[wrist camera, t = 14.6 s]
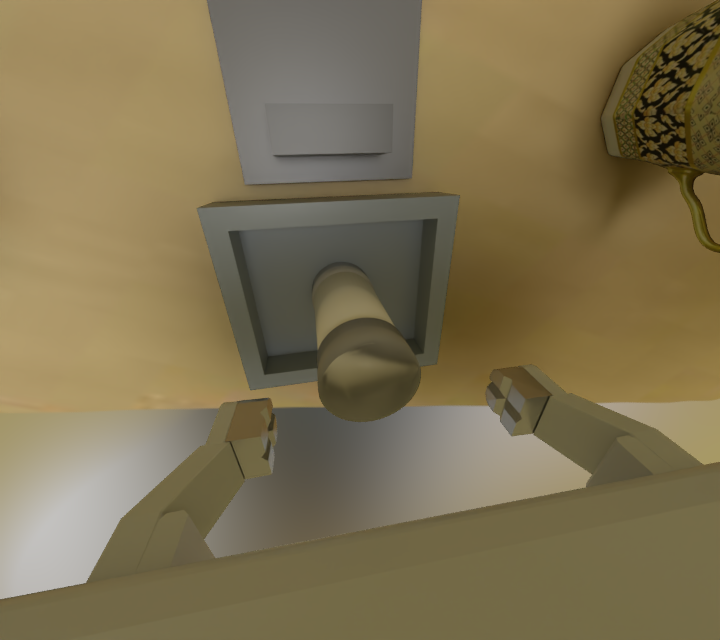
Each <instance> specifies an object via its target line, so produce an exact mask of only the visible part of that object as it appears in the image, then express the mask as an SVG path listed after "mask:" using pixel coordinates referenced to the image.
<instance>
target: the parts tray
mask: <svg viewBox="0 0 720 640" xmlns="http://www.w3.org/2000/svg"><path fill="white" fill-rule="evenodd" d="M459 198H460V195H454V194H447V193H441V192H427V193H405V194H383V195H361V196H339V197H317V198H295V199H273V200H251V201H229V202H213V203H210V204H207V205H204V206H201V207H198V208H197V211H198V214H199V218H200V221H201V224H202V228H203V231H204V235H205V238H206V241H207V245H208V248H209V252H210V255H211V258H212V262H213V265H214V269H215V272H216V275H217V279H218V282H219V286H220V289H221V292H222V296H223V299H224V303H225V306H226V309H227V313H228V316H229V320H230V323H231V326H232V330H233V333H234V337H235V340H236V343H237V347H238V350H239V354H240V357H241V360H242V364H243V367H244V371H245V374H246V377H247V381H248V384H249V388H250V390H256V389H264V388H271V387H278V386H285V385H292V384H299V383H306V382H313V381H318V378H317V362H316V358H317V352H318V347H317V334H316V321H315V311H314V308H313V303H312V284H313V281H314V279H315V277H316V275H317V274H318V272H319V271H320V270H321V269H323V268H324V267H326V266H327V265H329V264H332V263H336V262H348V263H352V264H354V265H356V266H358V267H359V268H361V269H362V270H363V271H364V272H365V274H366V275H367V277H368V278H369V280H370V282H371V283H372V285H373V287H374V290H375V293H376V295H377V297H378V298H379V300H380V302H381V304H382V305H383V307H384V309H385V310H386V312H387V314H388V316H389V317H390V319H391V321H392V322H393V324H394V326H395V327H396V328H397V329H398V330H399V331H400V332H401V334H402V335H403V337H404V338H405V340H406V342H407V343H408V345H409V347H410V348H411V350H412V352H413V353H414V355H415V357H416V358H417V360H418V362H419V365H420V366H428V365H435V364H437V360H438V353H439V346H440V338H441V331H442V323H443V316H444V309H445V301H446V294H447V286H448V279H449V272H450V264H451V257H452V250H453V242H454V235H455V227H456V220H457V213H458V205H459Z"/></svg>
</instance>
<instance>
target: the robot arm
mask: <svg viewBox="0 0 720 640" xmlns="http://www.w3.org/2000/svg"><path fill="white" fill-rule="evenodd" d="M490 379H491V381H492V382H491V383H490V384H489V385H488V386H487V389H486V400H487V403H488V405H489V407H490V408H491V409H492V411H493V412H495V413H496V414H498V415H500V422H501V423H502V424H503V426H504V427H505V428H506V430H507V431H508V432H509V434H510V435H511V436H517V435H524V434H532V433H534V435H535V436H537V437H538V438H539V439H541V440H542V441H544V442H545V443H547V444H548V445H550V446H551V447H553V448H554V449H555V450H557V451H559V452H560V453H561V454H563V455H564V456H566V457H567V458H569V459H570V460H572V461H573V462H575V463H576V464H578V465H579V466H581V467H582V468H584V469H585V470H587V471H588V472H589V473H591V474H592V476H591V477H590V479H589V480H588V482H587V484H586V488H582V489H576V490H571V491H565V492H560V493H555V494H550V495H544V496H539V497H534V498H529V499H523V500H518V501H513V502H507V503H502V504H497V505H492V506H486V507H481V508H476V509H471V510H466V511H460V512H455V513H450V514H445V515H440V516H434V517H430V518H424V519H419V520H414V521H409V522H403V523H398V524H393V525H387V526H382V527H377V528H372V529H366V530H362V531H356V532H351V533H346V534H341V535H335V536H330V537H325V538H320V539H314V540H309V541H304V542H299V543H293V544H288V545H283V546H278V547H273V548H268V549H262V550H257V551H252V552H247V553H241V554H236V555H231V556H226V557H220V558H215V557H214V555H213V554H212V552H211V550H210V549H209V547H208V546H207V544H206V542H205V541H204V539H205V537H206V536H207V534H208V533H209V531H210V530H211V529H212V527H213V526H214V524H215V523H216V522H217V520H218V519H219V517H220V516H221V514H222V513H223V512H224V510H225V509H226V507H227V506H228V504H229V503H230V502H231V500H232V499H233V497H234V496H235V494H236V493H237V491H238V490H239V489H240V487H241V486H242V484H243V483H244V479H249V478H255V477H260V476H265V475H271V474H272V471H273V463H274V456H275V455H274V451H273V446H274V445H275V444H276V439H277V422H276V418H275V415H274V414H273V413H272V408H273V405H272V401H271V399H270V398H262V399H252V400H243V401H237V402H226V403H223V404H222V405H221V406H220V408H219V411H218V414H217V416H216V419H215V422H214V424H213V426H212V429H211V432H210V434H209V437H208V440H207V442H206V445H204V446H200V447H199V448H198V449H197V450H196V451H194V452H193V453H192V454H191V455H190V456H189V457H188V458H187V459H186V460H185V461H183V462H182V463H181V464H180V465H179V466H178V467H177V468H176V469H175V470H174V471H173V472H171V473H170V474H169V475H168V476H167V477H166V478H165V479H164V480H163V481H162V482H161V483H160V484H158V485H157V486H156V487H155V488H154V489H153V490H152V491H151V492H150V493H149V494H148V495H146V497H144V498H143V499H142V500H141V501H140V502H139V503H138V504H137V505H136V506H135V507H133V508H132V509H131V510H130V511H129V512H128V513H127V514H126V515H125V516H124V517H122V518H121V520H120V522H119V524H118V525H117V527H116V529H115V531H114V533H113V534H112V537H111V538H110V540H109V542H108V544H107V545H106V547H105V549H104V551H103V553H102V555H101V557H100V558H99V560H98V562H97V564H96V566H95V567H94V570H93V571H92V573H91V575H90V577H89V578H88V580H87V582H86V583H84V584H79V585H74V586H68V587H64V588H58V589H53V590H47V591H42V592H37V593H32V594H27V595H22V596H16V597H11V598H5V599H0V640H720V462H716V463H711V464H706V465H703V464H702V463H700V462H699V461H698V460H697V459H695V458H694V457H693V456H691V455H690V454H688V453H687V452H686V451H685V450H683V449H682V448H681V447H680V446H678V445H677V444H676V443H674V442H673V441H671V440H670V439H669V438H668V437H666V436H665V435H664V434H662V433H661V432H660V431H658V430H657V429H655V428H652V427H650V426H647V425H645V424H643V423H640V422H638V421H636V420H633V419H631V418H628V417H626V416H624V415H621V414H619V413H617V412H614V411H612V410H610V409H607V408H605V407H603V406H600V405H598V404H595V403H593V402H591V401H588V400H586V399H584V398H581V397H579V396H576V395H574V394H572V393H570V394H567V393H566V392H565V391H564V390H563V389H561V388H560V387H559V386H558V385H557V384H556V383H555V382H553V381H552V380H551V379H550V378H549V377H548V376H547V375H545V374H544V373H543V372H542V371H541V370H540V369H539V368H538V367H536V366H534V365H532V364H530V365H523V366H518V367H509V368H502V369H494V370H493V371H492V372H491V374H490Z"/></svg>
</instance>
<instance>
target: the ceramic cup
mask: <svg viewBox="0 0 720 640" xmlns="http://www.w3.org/2000/svg"><path fill="white" fill-rule="evenodd" d="M601 122H602V127H603V132H604V136H605V141H606V146H607V150H608V154H609V155H612V156H616V157H622V158H628V159H634V160H640V161H646V162H649V163H653V164H656V165H659V166H662V167H666V168H667V169H668V173H669V174H671V175H672V176H674V177H675V178H676V180H677V181H678V182H679V184H680V190H681V194H682V196H683V198H684V199H685V201H686V202H687V204H688V206H689V208H690V211H691V215H692V220H693V226H694V230H695V234H696V236H697V238H698V240H699V242H700V243H701V244H702V245H703V246H704V247H706V248H707V249H709V250H711V251H714V252H718V253H720V245H719V244H717V243H715V242H714V241H713V240H712V238H711V237H710V234H709V232H708V229H707V224H706V219H705V214H704V210H703V207H702V204H701V202H700V200H699V199H698V197H697V196H696V195H695V193H694V190H693V183H694V180H695V179H696V177H698V176H700V175H702V174H703V173H709V174H715V175H720V0H717V1H715V2H714V3H712V4H710V5H708V6H706V7H704V8H703V9H701V10H699V11H697V12H695V13H693V14H691V15H690V16H688V17H686V18H685V19H683V20H681V21H680V22H678V23H676V24H674V25H673V26H671V27H669V28H667V29H666V30H665V31H663V32H662V33H661V34H660V35H659V36H657V37H656V38H655V39H654V40H653V41H652V42H650V43H649V44H648V45H647V46H646V47H644V48H643V49H642V50H641V51H640V52H638V53H637V54H636V55H635V56H634V57H632V58H631V59H630V60H629V61H628V62H627V63H626V64H624V65H623V67H622V68H621V70H620V73H619V75H618V78H617V80H616V82H615V85H614V87H613V90H612V92H611V95H610V97H609V99H608V102H607V104H606V107H605V109H604V111H603V114H602V116H601Z"/></svg>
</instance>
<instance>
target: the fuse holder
mask: <svg viewBox="0 0 720 640" xmlns="http://www.w3.org/2000/svg"><path fill="white" fill-rule="evenodd" d="M207 3H208V8H209V13H210V17H211V22H212V27H213V32H214V37H215V42H216V46H217V51H218V56H219V61H220V66H221V71H222V75H223V80H224V85H225V90H226V95H227V100H228V105H229V109H230V114H231V119H232V124H233V129H234V134H235V138H236V143H237V148H238V153H239V158H240V163H241V167H242V172H243V177H244V182H245V184H271V183H298V182H324V181H351V180H378V179H405V178H412V166H413V148H414V130H415V113H416V95H417V77H418V60H419V42H420V24H421V7H422V0H207Z"/></svg>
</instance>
